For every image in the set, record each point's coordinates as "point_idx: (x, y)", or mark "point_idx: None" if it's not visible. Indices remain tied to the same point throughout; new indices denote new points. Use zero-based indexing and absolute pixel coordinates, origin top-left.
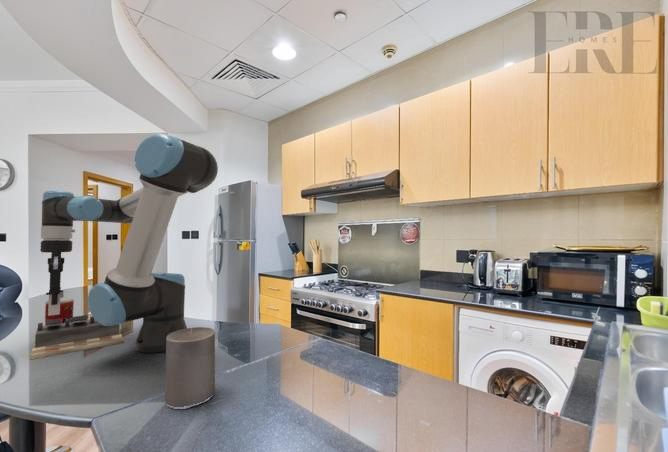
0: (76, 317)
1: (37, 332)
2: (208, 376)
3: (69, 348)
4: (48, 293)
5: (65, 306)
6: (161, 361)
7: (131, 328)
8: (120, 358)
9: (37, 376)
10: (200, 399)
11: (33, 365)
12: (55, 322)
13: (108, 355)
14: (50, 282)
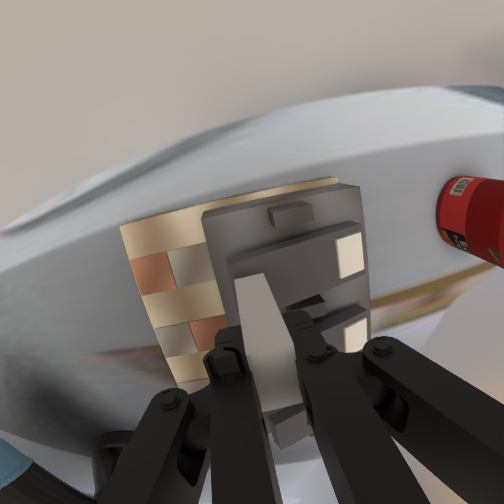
0: None
1: (240, 215)
2: None
3: (150, 318)
4: (208, 371)
5: (497, 253)
6: (56, 444)
7: None
8: (75, 407)
9: (7, 283)
10: None
11: (69, 251)
12: (234, 294)
13: (98, 392)
14: (111, 484)
